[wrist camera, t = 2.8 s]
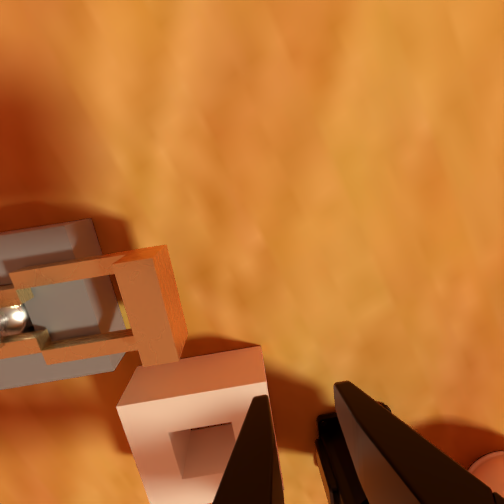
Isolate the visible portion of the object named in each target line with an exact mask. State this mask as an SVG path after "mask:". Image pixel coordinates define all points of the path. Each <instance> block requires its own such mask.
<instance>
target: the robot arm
mask: <svg viewBox="0 0 504 504" xmlns="http://www.w3.org/2000/svg"><path fill="white" fill-rule="evenodd" d="M334 399H335V409H336V413H332V414H326V415H321V416H319V417H318V418H317V420H316V422H317V431H318V439H316V440H315V450H316V458H317V464H318V467H319V471H320V475H321V478H322V482H323V485H324V489H325V492H326V496H327V499H328V503H329V504H504V498H503V497H502V496H501V495H499V494H498V493H497V492H493V493H492V490H491V488H490V487H489V486H487V485H486V484H485V483H483V482H482V481H481V480H479V479H478V478H477V477H475V476H474V475H473V474H471V473H470V472H469V471H467V470H466V469H465V468H464V467H462V466H461V465H460V464H458V463H457V462H456V461H454V460H453V459H452V458H450V457H449V456H448V455H446V454H445V453H444V452H442V451H441V450H440V449H438V448H437V447H436V446H434V445H433V444H432V443H431V442H429V441H428V440H427V439H425V438H424V437H423V436H421V435H420V434H419V433H417V432H416V431H415V430H413V429H412V428H411V427H409V426H408V425H407V424H405V423H404V422H403V421H401V420H400V419H399V418H397V417H396V416H395V415H394V414H392V413H391V410H390V408H389V407H388V406H387V405H380V404H379V403H378V402H376V401H375V400H374V399H372V398H371V397H370V396H368V395H367V394H366V393H364V392H363V391H362V390H361V389H359V388H358V387H357V386H355V385H354V384H353V383H351V382H350V381H342V382H336V383H335V384H334ZM323 421H324V422H323ZM212 504H284V494H283V486H282V479H281V472H280V466H279V459H278V453H277V446H276V440H275V433H274V427H273V421H272V415H271V409H270V403H269V397H268V395H260V396H255V397H253V399H252V401H251V404H250V406H249V409H248V411H247V414H246V417H245V419H244V422H243V424H242V427H241V430H240V432H239V435H238V437H237V440H236V443H235V445H234V448H233V450H232V453H231V456H230V458H229V461H228V463H227V466H226V469H225V471H224V474H223V476H222V479H221V482H220V484H219V487H218V489H217V492H216V495H215V497H214V500H213V502H212Z"/></svg>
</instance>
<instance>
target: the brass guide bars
mask: <svg viewBox="0 0 504 504" xmlns="http://www.w3.org/2000/svg"><path fill="white" fill-rule="evenodd" d="M111 274H115V277H116V280H117V283H118V287H119V290H120V293H121V296H122V300H123V303H124V306H125V310H126V313H127V316H128V319H129V323H130V326H131V329H125V330H119V331H112V332H106V333H100V334H94V335H88V336H82V337H76V338H70V339H64V340H58V341H52V340H51V338H50V335H49V333H48V330H47V329H44V330H38V331H32V332H26V333H20V334H13V335H7V336H1V343H0V359H5V358H12V357H18V356H24V355H30V354H36V353H42V355H43V357H44V360H45V362H46V364H47V365H51V364H57V363H63V362H69V361H75V360H81V359H87V358H93V357H99V356H105V355H111V354H117V353H123V352H129V351H135V350H138V352H139V355H140V359H141V362H142V365H143V367H148V366H154V365H160V364H166V363H172V362H178V361H180V358H181V354H182V351H183V348H184V345H185V342H186V338H187V335H188V331H187V327H186V323H185V319H184V314H183V310H182V306H181V302H180V298H179V294H178V290H177V286H176V282H175V277H174V273H173V269H172V265H171V261H170V257H169V253H168V249H167V245H160V246H154V247H148V248H141V249H135V250H129V251H123V252H116V253H110V254H104V255H98V256H91V257H85V258H79V259H73V260H66V261H60V262H54V263H48V264H41V265H35V266H29V267H23V268H20V269H18V270H15V271H13V272H10V273H9V276H10V278H11V280H12V283H13V284H11V285H5V286H0V308H3V307H9V306H15V305H21V304H23V303H25V302H27V301H28V300H30V299H32V298H33V297H34V295H33V293H32V290H31V287H37V286H43V285H49V284H56V283H62V282H68V281H74V280H80V279H87V278H93V277H99V276H105V275H111Z"/></svg>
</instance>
